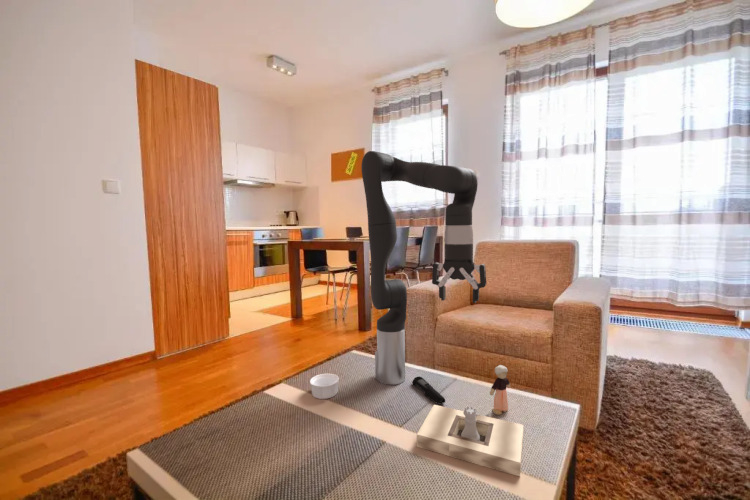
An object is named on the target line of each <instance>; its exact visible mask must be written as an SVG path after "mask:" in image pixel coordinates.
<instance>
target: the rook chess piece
mask: <svg viewBox="0 0 750 500" xmlns="http://www.w3.org/2000/svg"><path fill="white" fill-rule="evenodd" d="M463 411H464V412H463V413H464V415H465V418H464V420H465V428H464V430H461V431H462V432H461V433H460V436H462V437H466V438H470V439H474V440H478V441H481V435H479V434H478V431H477V429H476V421H477V420H476V417H477V415H479V414H478V412H477V410H476V408H475V407H473V406H466V407H464V410H463Z"/></svg>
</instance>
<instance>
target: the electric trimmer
mask: <svg viewBox="0 0 750 500" xmlns="http://www.w3.org/2000/svg"><path fill="white" fill-rule="evenodd" d="M411 382H412V386H417V388H419V389H420V390H421V391H422V392H424V395H425V397H427V398H428V399H430V400H431V401H432V402H434V403H436V405H440V404H444V403H446V398H445V397H444V396H443V395H442V394H441V393H439V392H438V391H437V390H436V389H435V388H434V387H433V386H432V385H431V384H430V383H429V382H428V381H427V380H426V379H425V378H423V377H422V376H416V377H414V379H412V381H411Z"/></svg>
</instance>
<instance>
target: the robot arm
mask: <svg viewBox="0 0 750 500" xmlns="http://www.w3.org/2000/svg"><path fill="white" fill-rule="evenodd" d="M361 175H362V176H361V177H362V182H363V188H364V194H365V201H366V202H365V203H366V210H367V211H366V212H367V213H366V214H367V231H368V233H367V234H368V240H369V243H368V244H369V254H370V255H369V256H370V298H371V303H372V305H373V307H374V308H375V309H376V310H380V311H381V310H387V309H388V311H387V312H386V313H385V314H384V315H382V316H380V317H379V318H378V319H377V320H376V346H377V347H376V350H375V352H374V374H375V375H374V376H375V377H374V379H375V380H376V381H378V382H380V383H381V384H384V385H392V386H393V385H400V384H402V383H404V381H405V380H406V333H405V332H406V331H405V330H406V328H405V325H406V321H407V308H408V307H407V305H408V304H407V303H408V295H407V294H408V293H407V291H408V290H407V287H406V284H405V283H404V281H403V280H402V279H400V278H399V279H398V278H397V279H396V278H395V279H394V278H393V279H387V280H386V278H385V277H386V276H385V275H386V268H387V264H388V263H387V262H388V260H389V259H390V256H391V254H392V252H393V250H394V248H395V246H396V244H397V239H398V234H397V221H396V217H395V213H394V212H393V211H392V209H391V207H390V205H389V203H388V201H387V199H386V197H385V194H384V192H383V185H382V183H383V182H384V183H386V182H405V183H409V184H411V185H414V186H417V187H421V188H427V189H431V190H436V191H439V192H443V193H447V194H453V196H454V197H453V200H452V202H451V203H449V204H447V205H446V207H445V214H444V215H445V218H444V220H445V226H444V227H445V228H444V229H445V230H444V234H443V235H444V238H443V241H444V262H443V263H440V262H437V261H436V262H434V263H433V264H432V273H431V274H432V275H431V276H432V277H431V284H432V285H434V286H435V285H436V286H437V287H438V297H439V299H440V300H441V301H446V298H447V297H446V286H445V285H446V283H447V282H448V281H449V280H450V279H451V280H459V281H464V280H466V281H467V282H468V284H470V285H471V286H472V288H473V289H472V303H473V304H476V303H477V302H478V301H479V299H480V289H481V288H485V287H486V286H487V272H486V271H487V267H486V264H485V263H481V264H475V263H474V229H473V207H474V205H475V200H476V195H477V192H478V183H479V182H478V177H477V175H476V172H475V171H474V170H473V169H471V168H468V167H461V166H456V165H446V164H445V165H444V164H443V165H441V164H437V163H433V162H425V161H424V162H423V161H406V160H402V159H400V158H397V157H395V156H393V155H390V154H389V153H384V152H380V151H374V150H371V151H370V150H369V151H367V152H366V153H365V154H364V155H363V157H362V161H361ZM442 269H443V270H444V271H445V274H444V276H443V277H442V279H441V280H440V278H439V277H440V271H441V270H442ZM475 270H476V272H477V273H478V274H479V282H478V281H477V280H476V278H475V276H474V275H473V272H474V271H475Z"/></svg>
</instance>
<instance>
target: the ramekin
mask: <svg viewBox="0 0 750 500" xmlns="http://www.w3.org/2000/svg"><path fill="white" fill-rule="evenodd" d="M339 382H340V378H339V376H338V375H337V374H334V373H321V374H317V375H316V374H315V375H314V376H313V377H311V378H310V379H309V385H310V389H311V395H312V396H313V397H314V398H315V399H320V400H326V399H330V398H333V397H335V396H336V395H338V394H337V393H338V391H339Z"/></svg>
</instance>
